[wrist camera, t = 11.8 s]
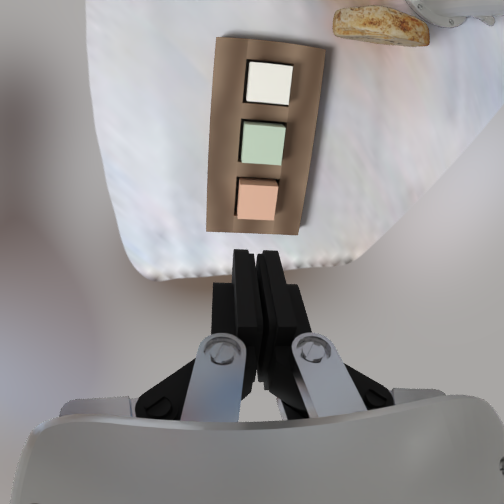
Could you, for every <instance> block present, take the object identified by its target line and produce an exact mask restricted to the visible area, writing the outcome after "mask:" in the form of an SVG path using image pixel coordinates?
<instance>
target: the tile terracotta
mask: <svg viewBox="0 0 504 504" xmlns="http://www.w3.org/2000/svg"><path fill="white" fill-rule="evenodd" d="M277 193H278V185H277V182H276V180H275V179H260V178H243V177H239V190H238V203H237V217H238V219H253V220H274V216H275V209H276V201H277Z"/></svg>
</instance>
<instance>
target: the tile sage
mask: <svg viewBox="0 0 504 504" xmlns="http://www.w3.org/2000/svg"><path fill="white" fill-rule="evenodd" d="M285 130H286V128H285V127H284V126H283V125H282V124H275V123H264V122H251V121H244V127H243V139H242V151H241V160H242V163H254V164H269V165H281V162H282V154H283V146H284V138H285Z"/></svg>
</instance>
